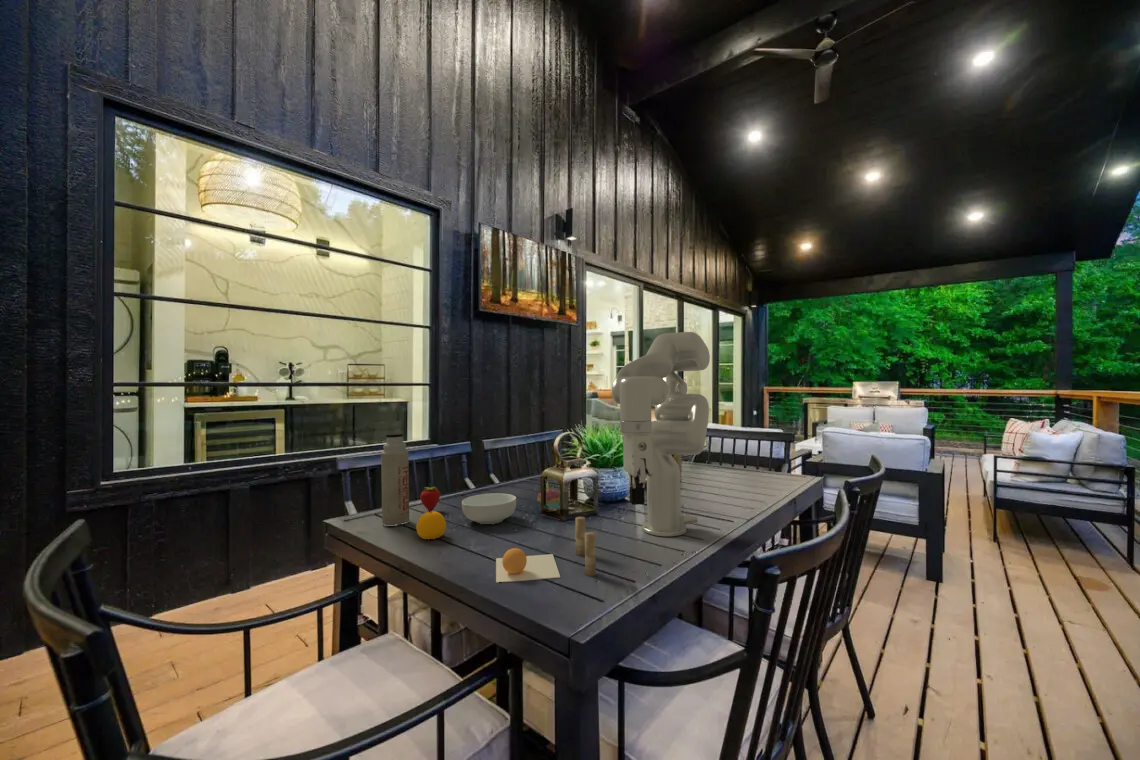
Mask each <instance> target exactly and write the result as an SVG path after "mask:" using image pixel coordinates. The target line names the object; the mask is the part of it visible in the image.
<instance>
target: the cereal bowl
mask: <svg viewBox="0 0 1140 760" xmlns="http://www.w3.org/2000/svg"><path fill="white" fill-rule="evenodd" d="M516 507H517V497H516V496H515V495H513V494H510V493H500V492H496V493H495V492H494V493H493V492H492V493H482V494H477V495H476V494H475V495H472V496H468V497H465V498H463V499H462V500H461V510H462V513H463V515H464V516H465V517H466V518H467V519H468V520H470V521H473V522H476V523H478V524H479V523H480V524H479V525H482V524H492V525H496V524H495V523H497V524H500V523H502V522H503V521H504V520H505V519H507V518H509V517H510V516H512V515H513V513H514V512H515V510H516ZM499 522H500V523H499Z"/></svg>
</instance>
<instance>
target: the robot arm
mask: <svg viewBox="0 0 1140 760" xmlns="http://www.w3.org/2000/svg"><path fill="white" fill-rule="evenodd" d="M710 359H711V356H710V350H709V348H708V346H707V344H706V343H705V341H704V339H703V338H702V337H701V336H700V335H699V334H698V333H696V332H693V331H682V332H681V331H680V332H667V333H666V332H665V333H661V334H659V335H658V336H656V337H655V338H654V339H653V341H652V343H651V344H650V347H649V348H648V350H647V352H646V354H645V355H643V356H640V357H638V358H636V359H635V360H633V361H631V362H629V363H626V364H625V365H624V366H622V367H621V369H620V370H619V371H618V373H617V374H616V376H615V378H614V380H613V382H612V386H611V396H612V399H613V401H614V402H615V403H616V404H618V405H619V419H620V420H619V422H620V423H619V424H620V425H619V426H620V427H619V428H620V430H619V431H620V435H622V436H623V439H622V440H623V444H622V445H623V446H622V454H623V455H622V456H623V458H622V459H623V460H622V461H623V470H624V471H625V472H626V473H628V479H629V480H628V482H629V503H630V504H631V505H633V506H634V505H635V506H636V505H644V504H645V500H646V501H647V503H646V506H647V507H646V509H647V517H646V518H647V521H645V522H643V523H642V524H641V525H642V526H641V530H642V531H643V532H644V533H646V534H649V535H652V536H657V537H678V536H681V535H685V534H686V533H687V531H688V529H687V524H696V523H698V516H697V515H690V514H682V510H681V509H682V507H681V506H682V505H681V502H682V500H681V495H682V494H681V470H680V467H679V464H678V462H677V461H676V459H675V458H674V457H673V456H672V455H684V456H687V455H688V456H697V455H700V454H701V453H702V452H703V450H704V449H705V444H706V438H707V432H708V424H709V418H710V407H709V402H708V399H707V397H705V396H704V395H702V394H700V393H688V385H687V384H686V381H684V379H683V378H682V377H681V376H680V375H679V374H677V372H695V371H700V372H701V371H704V370H706V369H707V368H708V366H709V364H710ZM652 406H654V417H655V420H652ZM645 484H646V486H645ZM645 487H646V497H645ZM645 498H646V499H645Z"/></svg>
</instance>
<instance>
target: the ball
mask: <svg viewBox="0 0 1140 760" xmlns="http://www.w3.org/2000/svg"><path fill="white" fill-rule="evenodd" d="M526 556H527V555H526V554H525V552H524V551H523V549H521V548H517V547H513V548H510V549H508V550H506V552H505V553H504V554H503V557H502V558H503V560H502V564H503V567H504V569H505V570H506V571H507V572H508V573H510V574H518V573H520V572H521V571H523V569H524V568H525V566H526V563H527V558H526Z"/></svg>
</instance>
